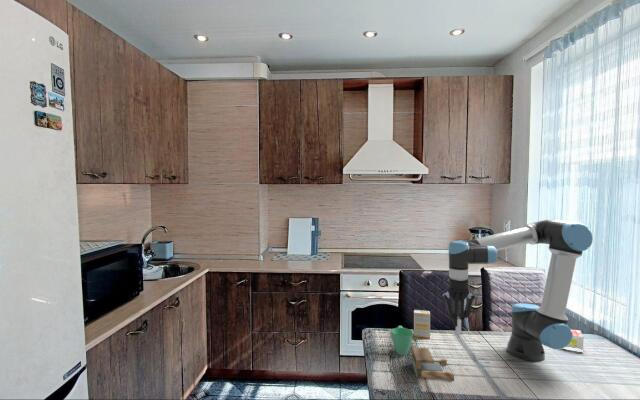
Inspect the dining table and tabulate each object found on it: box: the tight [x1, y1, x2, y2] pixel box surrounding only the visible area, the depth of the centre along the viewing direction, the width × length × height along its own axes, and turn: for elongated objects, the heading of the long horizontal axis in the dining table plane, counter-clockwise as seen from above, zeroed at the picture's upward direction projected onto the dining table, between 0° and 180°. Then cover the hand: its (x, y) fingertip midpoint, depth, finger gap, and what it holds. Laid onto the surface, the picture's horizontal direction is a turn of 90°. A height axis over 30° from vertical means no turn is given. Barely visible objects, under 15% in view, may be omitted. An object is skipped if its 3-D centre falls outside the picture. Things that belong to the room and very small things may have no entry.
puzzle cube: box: [565, 328, 585, 351], centre depth 161 cm, size 8×8×8 cm
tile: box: [421, 362, 444, 371], centre depth 140 cm, size 9×7×3 cm
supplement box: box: [413, 309, 431, 339], centre depth 174 cm, size 8×5×13 cm, turn 71°
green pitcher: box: [391, 325, 414, 356], centre depth 159 cm, size 15×10×10 cm
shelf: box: [411, 347, 455, 382], centre depth 140 cm, size 15×13×7 cm
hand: (458, 333), depth 139 cm, fingers closed
